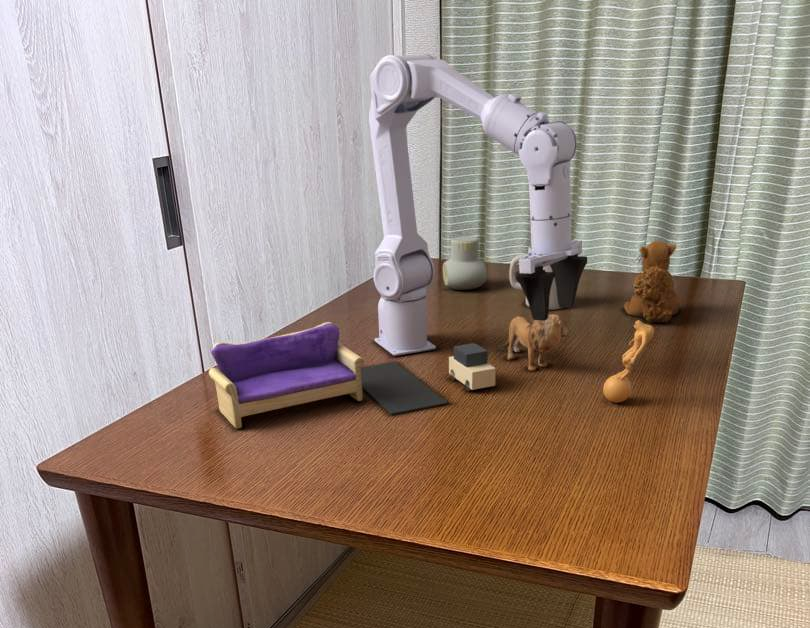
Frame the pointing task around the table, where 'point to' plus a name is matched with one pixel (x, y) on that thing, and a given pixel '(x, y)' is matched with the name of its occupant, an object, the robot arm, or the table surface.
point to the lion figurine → (535, 337)
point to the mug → (553, 293)
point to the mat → (397, 389)
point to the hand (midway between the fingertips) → (553, 313)
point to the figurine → (627, 365)
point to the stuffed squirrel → (654, 285)
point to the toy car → (471, 367)
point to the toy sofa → (284, 372)
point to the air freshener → (464, 265)
